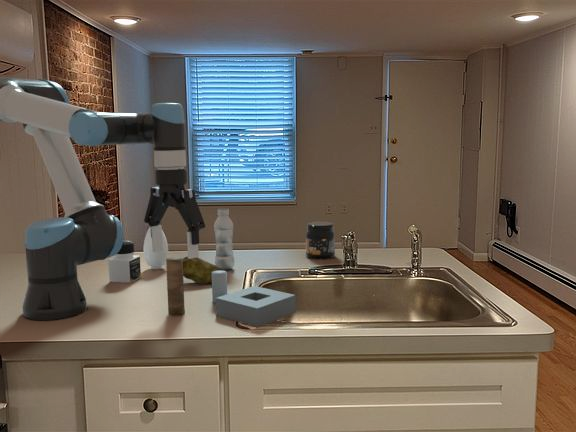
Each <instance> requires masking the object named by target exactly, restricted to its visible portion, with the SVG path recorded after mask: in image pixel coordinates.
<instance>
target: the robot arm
mask: <svg viewBox="0 0 576 432" xmlns="http://www.w3.org/2000/svg"><path fill="white" fill-rule="evenodd" d="M0 121H1V122H4V123H8V124H14V123H21V124H22V125H21V126H22V127H23V129H24V132H25V133H26V134H27V135H30V136H33V138H34V141H35V143H36V145H37V148H38V150H39V153H40V155H41V157H42V158H41V159H42V160H43V163H44V164H45V167H46V170H47V173H48V176H49V177H50V179H51V182H52V184H53V187H54V189H55V193H56V195H57V196H58V199H59V201H60V205H61V206H62V209H63V212H64V216H62V217H61V216H60V217H59V216H58V217H53V218H46V219H45V218H44V219H41V220H39V221H35V222H32V223H30V224H29V225H28V226H27V227H26V229H25V230H24V242H23V245H24V247H25V258H26V271H27V281H28V282H27V289H26V292H25V297H24V300H23V304H22V316H23V317H24V318H25V319H28V320H33V321H51V320H52V321H54V320H59V319H60V320H61V319H66V318H70V317H74V316H77V315H80V314H82V313H83V312H85V311H86V310H87V298H86V296H85V293H84V291H83V289H82V287H81V284H80V282H79V280H78V266H80V265H85V264H89V263H93V262H97V261H103V260H106V259H108V258H112V257H115V256H114V255H115V254H117V253H118V252H119V250H120V249H121V247H122V242H123V241H125V240H124V239H125V232H124V227H123V224H122V222H121V221H120V220H119V218H118V217H116V216H115V215H113V214H108V212H107V210H106V207H105V206H104V204H101V203H98V202H97V201H96V198H95V196H94V194H93V192H92V189H91V186H90V184H89V181H88V179H87V177H86V174H85V173H84V169H83V166H82V165H81V163H80V160H79V157H78V155H77V153H76V150H75V147H74V146H73V143H72V141H71V140H73V141H74V143H76V145H79V146H88V147H96V146H115V145H117V146H118V145H145V144H152V145H153V154H154V155H153V157H154V159H153V161H154V162H153V163H154V167H155V168H157V169H156V170H155V171H154V174H155V177H154V180H155V185H157V186H153V187H152V186H151V187H150V189H149V190H150V196H149V200H148V204H147V207H146V211H145V215H144V219H143V222H144V223H146V224H148V225H149V228H150V227H151V238H152V250H153V252H159V251H163V240H162V230H163V227H162V223H161V222H162V220H163V217H164V216H165V214H166V212H167V210H168V208H169V207H171V208H175V210H178V213H179V214H180V217H181V218H182V220H183V222H184V223H185V225H186V227H187V228H188V229H187V231H186V239H187V240H186V241H187V244H186V245H187V257H188V259H192V258H196V257H198V258H200V257H199V256H200V255H199V254H200V253H199V244H200V230H203V229H205V228H206V224H205V221H204V217H203V215H202V212H201V210H200V208H199V204H198V202H197V199H196V193H195V192H196V191H195V189H194V188H189V189H186V188H185V185H186V184H187V183H188V171H187V169H186V168H185V167H187V155H186V153H187V152H186V119H185V113H184V107H183V105H182V104H181V103H176V102H159V103H158V102H157V103H153V104H152V106H151V111H150V112H134V113H133V112H106V111H105V112H103V111H96V110H93V109H88V108H85V107H81V106H77V105H73V104H70V99H69V97H68V94H67V92H66V90H65V89H64V88H63V87H62V86H61V85H60V84H58V83H57V82H55V81H51V80H47V79H44V78H38V79H33V78H32V79H31V78H19V77H11V76H10V77H9V76H0ZM70 138H71V139H70Z"/></svg>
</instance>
